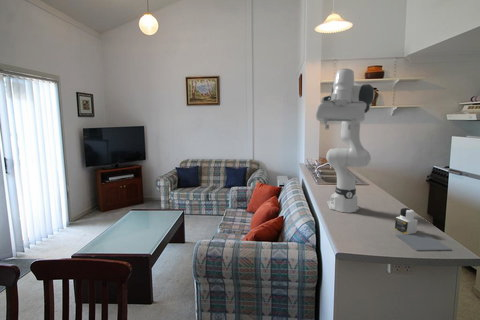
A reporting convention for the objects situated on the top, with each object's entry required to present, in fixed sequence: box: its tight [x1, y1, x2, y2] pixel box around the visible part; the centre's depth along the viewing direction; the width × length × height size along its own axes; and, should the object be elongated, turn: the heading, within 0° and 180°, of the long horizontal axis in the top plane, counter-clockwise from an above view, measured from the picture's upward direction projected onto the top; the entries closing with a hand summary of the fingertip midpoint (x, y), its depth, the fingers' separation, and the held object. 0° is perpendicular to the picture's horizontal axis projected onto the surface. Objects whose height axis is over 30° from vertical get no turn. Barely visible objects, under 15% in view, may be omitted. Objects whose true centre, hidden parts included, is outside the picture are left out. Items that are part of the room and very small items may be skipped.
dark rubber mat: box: [395, 233, 452, 252], centre depth 134 cm, size 16×16×1 cm
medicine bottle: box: [394, 207, 419, 235], centre depth 146 cm, size 7×7×12 cm
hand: (338, 129), depth 122 cm, fingers open, 8 cm apart
